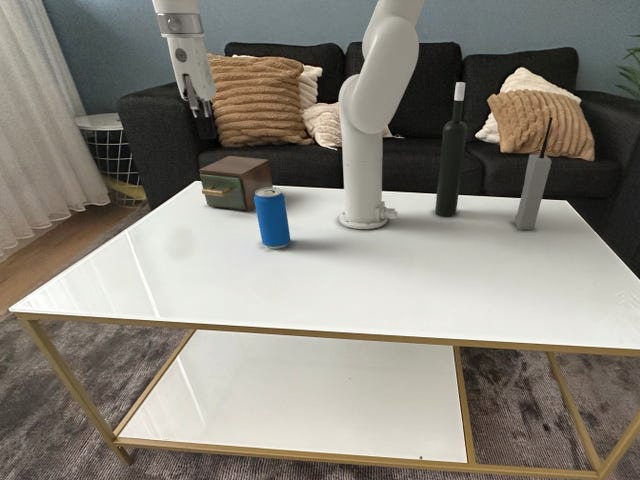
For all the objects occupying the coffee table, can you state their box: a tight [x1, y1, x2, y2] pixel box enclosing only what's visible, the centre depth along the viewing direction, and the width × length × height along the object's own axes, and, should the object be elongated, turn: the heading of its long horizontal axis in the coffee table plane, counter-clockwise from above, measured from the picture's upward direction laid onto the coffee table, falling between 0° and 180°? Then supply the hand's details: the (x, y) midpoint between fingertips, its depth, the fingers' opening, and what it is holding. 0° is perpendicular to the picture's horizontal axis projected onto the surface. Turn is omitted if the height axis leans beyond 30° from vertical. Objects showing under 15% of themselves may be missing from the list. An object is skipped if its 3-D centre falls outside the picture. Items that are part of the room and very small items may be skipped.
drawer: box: [199, 173, 246, 209], centre depth 111 cm, size 18×11×8 cm, turn 165°
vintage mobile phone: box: [513, 116, 554, 231], centre depth 98 cm, size 4×5×25 cm
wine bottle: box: [434, 81, 468, 218], centre depth 102 cm, size 6×6×30 cm
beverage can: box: [254, 187, 291, 250], centre depth 91 cm, size 6×6×12 cm
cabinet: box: [198, 155, 274, 212], centre depth 114 cm, size 15×13×10 cm
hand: (208, 137), depth 87 cm, fingers closed
